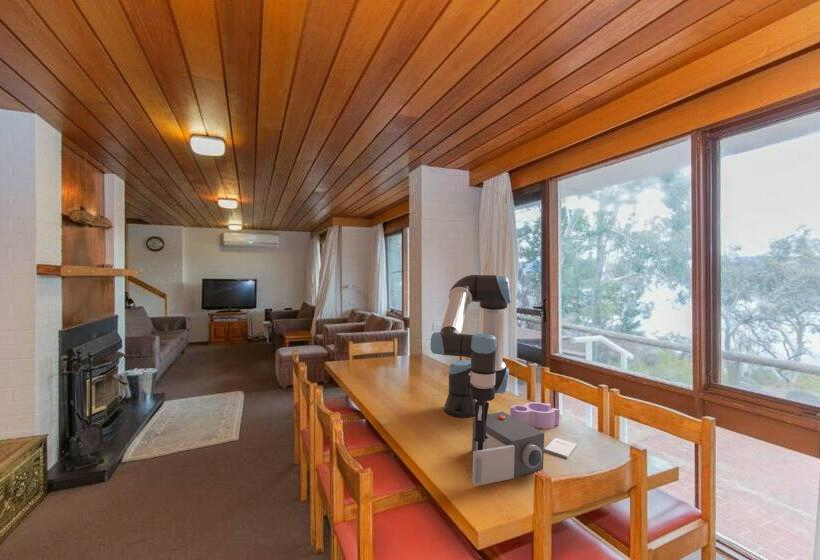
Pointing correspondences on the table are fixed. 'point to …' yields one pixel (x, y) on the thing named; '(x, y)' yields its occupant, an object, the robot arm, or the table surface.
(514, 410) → the clip
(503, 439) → the camera housing
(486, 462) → the side door
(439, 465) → the table surface
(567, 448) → the external hard drive
